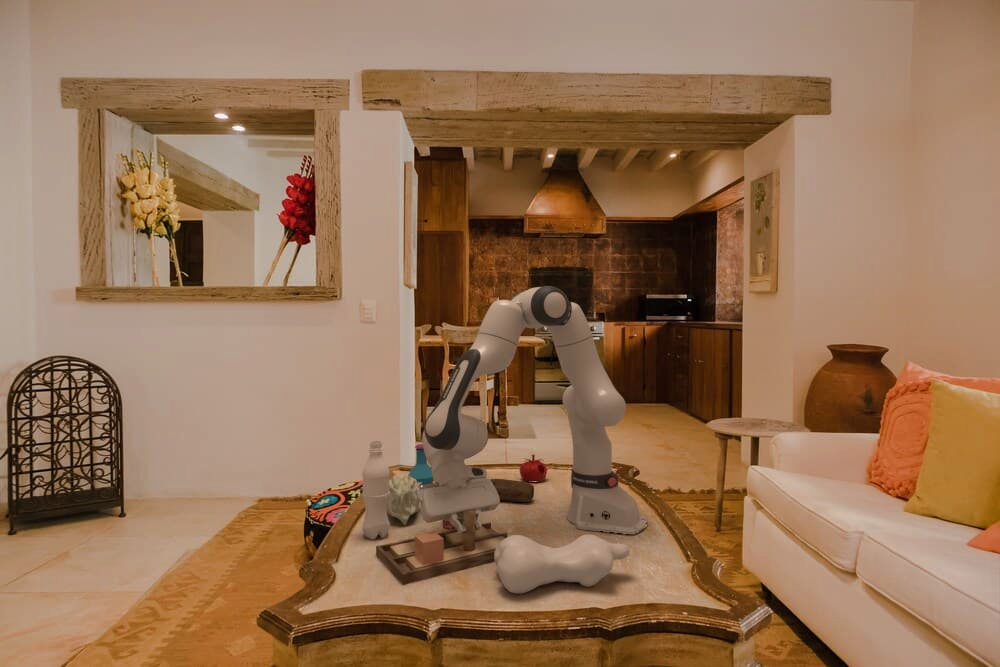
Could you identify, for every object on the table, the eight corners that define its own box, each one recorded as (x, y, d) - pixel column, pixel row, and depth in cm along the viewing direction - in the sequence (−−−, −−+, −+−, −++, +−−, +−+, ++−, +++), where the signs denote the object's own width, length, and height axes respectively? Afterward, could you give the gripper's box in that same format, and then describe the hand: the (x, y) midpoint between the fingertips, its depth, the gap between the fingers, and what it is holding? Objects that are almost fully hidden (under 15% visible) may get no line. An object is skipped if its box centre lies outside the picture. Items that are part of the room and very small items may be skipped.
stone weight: (484, 502, 175) (484, 481, 175) (489, 496, 182) (489, 475, 181) (531, 505, 172) (531, 484, 172) (534, 498, 179) (534, 478, 179)
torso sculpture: (503, 611, 112) (644, 588, 116) (498, 560, 112) (639, 538, 116) (494, 576, 128) (618, 556, 132) (489, 531, 128) (614, 512, 131)
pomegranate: (518, 484, 196) (517, 458, 195) (521, 476, 206) (521, 451, 205) (546, 485, 194) (545, 458, 194) (548, 476, 204) (547, 451, 204)
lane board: (489, 529, 151) (489, 521, 151) (526, 553, 136) (526, 544, 136) (376, 554, 135) (376, 545, 135) (403, 584, 119) (403, 574, 119)
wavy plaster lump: (393, 534, 166) (383, 483, 172) (435, 522, 166) (424, 471, 172) (377, 530, 149) (367, 474, 155) (424, 517, 150) (412, 461, 156)
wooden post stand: (501, 540, 141) (501, 500, 141) (514, 548, 136) (514, 507, 136) (405, 563, 128) (405, 519, 127) (415, 573, 122) (415, 527, 122)
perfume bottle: (433, 492, 184) (433, 448, 184) (405, 492, 185) (405, 448, 184) (436, 484, 194) (436, 442, 193) (410, 484, 194) (410, 442, 194)
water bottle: (366, 543, 142) (365, 446, 142) (359, 533, 148) (359, 441, 148) (393, 538, 145) (393, 443, 145) (385, 529, 152) (385, 438, 151)
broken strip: (482, 530, 148) (482, 526, 148) (493, 538, 143) (493, 533, 143) (389, 551, 135) (389, 546, 135) (398, 560, 130) (398, 555, 130)
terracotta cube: (434, 552, 131) (434, 531, 131) (443, 560, 126) (443, 538, 126) (414, 557, 128) (414, 535, 128) (423, 565, 124) (423, 543, 124)
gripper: (417, 479, 133) (434, 533, 125) (491, 468, 144) (511, 517, 135) (410, 493, 137) (426, 546, 129) (482, 481, 148) (501, 529, 139)
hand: (470, 531), depth 132 cm, fingers closed on wooden post stand, 3 cm apart
